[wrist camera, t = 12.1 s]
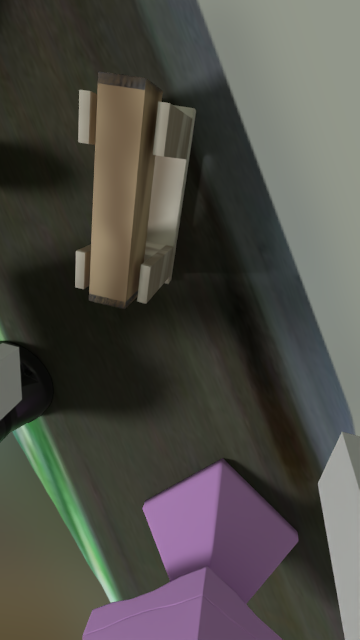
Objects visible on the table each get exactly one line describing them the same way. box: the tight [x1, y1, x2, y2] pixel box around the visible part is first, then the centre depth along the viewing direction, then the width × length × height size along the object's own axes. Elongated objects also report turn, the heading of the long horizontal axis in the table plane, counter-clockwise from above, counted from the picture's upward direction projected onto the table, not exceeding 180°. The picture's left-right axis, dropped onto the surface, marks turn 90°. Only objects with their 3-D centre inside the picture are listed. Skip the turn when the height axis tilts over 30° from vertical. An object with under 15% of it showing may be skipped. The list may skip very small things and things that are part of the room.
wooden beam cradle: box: [75, 90, 196, 304], centre depth 38 cm, size 8×20×12 cm, turn 171°
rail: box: [89, 71, 163, 309], centre depth 34 cm, size 4×20×5 cm, turn 171°
